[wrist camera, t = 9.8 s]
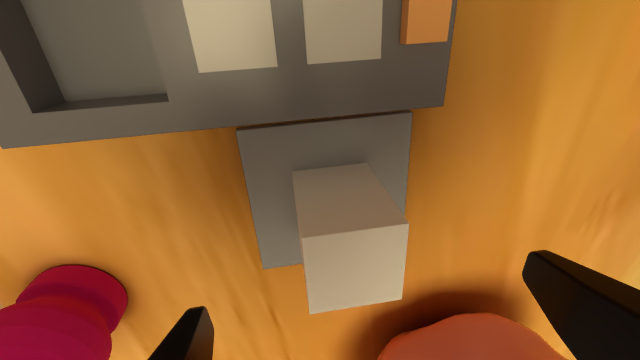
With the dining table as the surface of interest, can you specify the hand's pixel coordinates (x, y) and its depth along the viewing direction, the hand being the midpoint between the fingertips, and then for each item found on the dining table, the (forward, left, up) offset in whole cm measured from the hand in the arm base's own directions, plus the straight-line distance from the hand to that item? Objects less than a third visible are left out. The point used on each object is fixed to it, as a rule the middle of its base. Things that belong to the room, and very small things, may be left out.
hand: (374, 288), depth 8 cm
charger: (-1, +4, -12) cm, 13 cm away
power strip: (+4, -7, -13) cm, 15 cm away
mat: (-1, +4, -13) cm, 13 cm away
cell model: (-11, +23, -13) cm, 29 cm away
